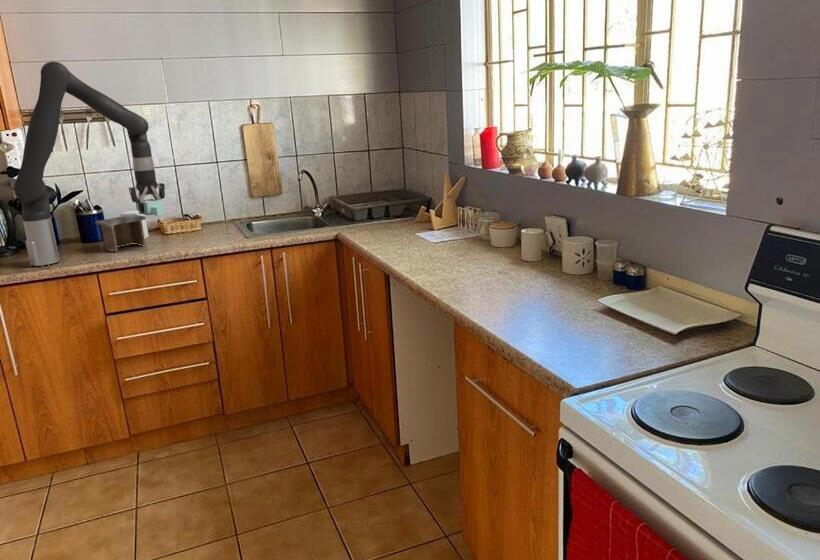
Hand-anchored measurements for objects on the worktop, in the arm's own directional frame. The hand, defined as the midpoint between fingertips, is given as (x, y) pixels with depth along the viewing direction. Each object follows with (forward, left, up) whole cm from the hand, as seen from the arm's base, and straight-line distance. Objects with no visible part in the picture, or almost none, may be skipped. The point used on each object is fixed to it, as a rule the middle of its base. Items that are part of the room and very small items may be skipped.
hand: (150, 211), depth 261 cm
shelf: (-7, +13, -15) cm, 21 cm away
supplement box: (+3, +23, -15) cm, 28 cm away
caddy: (0, -2, -1) cm, 2 cm away
